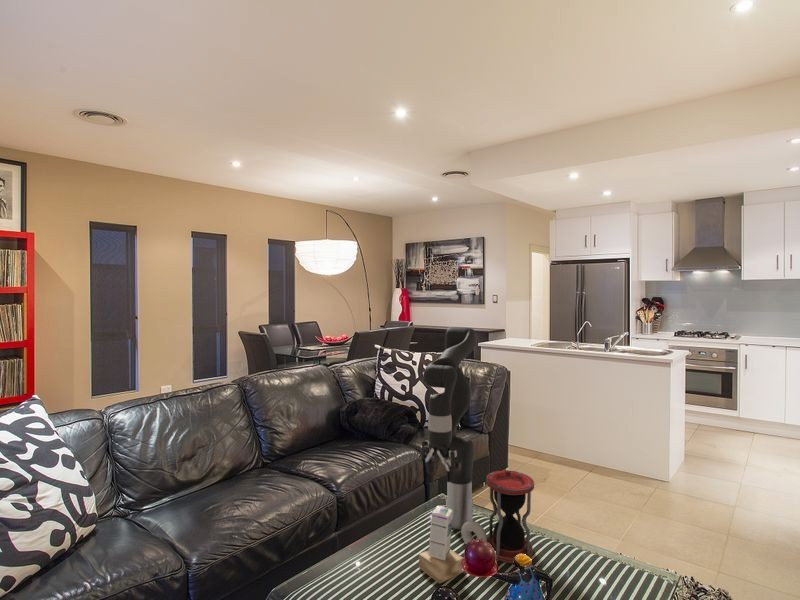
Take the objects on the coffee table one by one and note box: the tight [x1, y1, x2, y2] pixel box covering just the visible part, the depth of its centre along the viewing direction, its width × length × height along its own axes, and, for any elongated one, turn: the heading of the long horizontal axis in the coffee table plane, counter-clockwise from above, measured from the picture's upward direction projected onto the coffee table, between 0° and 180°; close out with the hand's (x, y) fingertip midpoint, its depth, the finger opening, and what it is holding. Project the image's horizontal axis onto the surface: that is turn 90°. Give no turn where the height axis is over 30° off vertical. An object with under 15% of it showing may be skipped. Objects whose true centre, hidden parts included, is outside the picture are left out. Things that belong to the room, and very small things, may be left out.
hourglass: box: [485, 470, 535, 564], centre depth 165 cm, size 16×16×25 cm
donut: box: [460, 520, 488, 545], centre depth 166 cm, size 10×4×10 cm, turn 47°
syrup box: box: [428, 505, 453, 561], centre depth 154 cm, size 6×6×14 cm
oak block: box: [418, 548, 464, 584], centre depth 154 cm, size 10×10×5 cm
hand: (439, 477), depth 153 cm, fingers open, 8 cm apart
